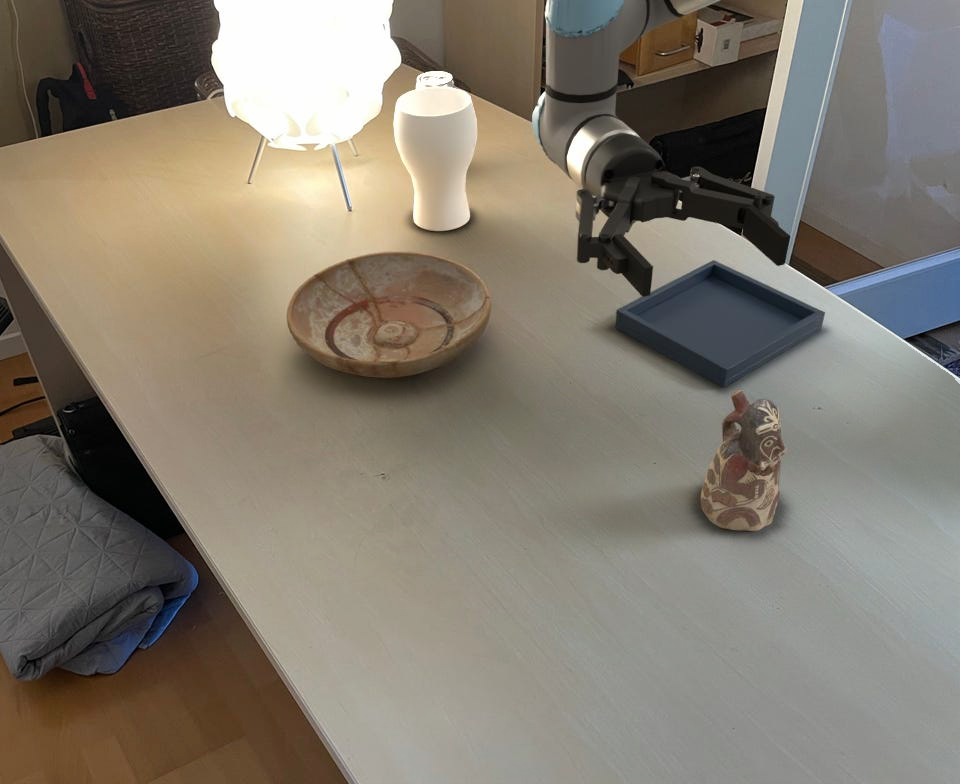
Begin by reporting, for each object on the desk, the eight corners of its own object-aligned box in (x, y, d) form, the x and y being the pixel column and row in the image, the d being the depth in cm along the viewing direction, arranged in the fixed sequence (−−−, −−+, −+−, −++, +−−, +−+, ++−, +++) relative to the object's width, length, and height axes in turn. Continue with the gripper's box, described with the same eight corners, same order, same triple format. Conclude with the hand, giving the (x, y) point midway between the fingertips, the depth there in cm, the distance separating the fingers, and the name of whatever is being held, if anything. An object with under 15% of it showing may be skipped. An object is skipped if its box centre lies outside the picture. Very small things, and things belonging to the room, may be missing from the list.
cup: (393, 233, 133) (380, 115, 122) (415, 197, 140) (405, 82, 129) (470, 239, 131) (464, 120, 120) (488, 203, 138) (484, 86, 127)
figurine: (738, 543, 91) (760, 436, 82) (684, 503, 95) (699, 397, 86) (792, 510, 94) (819, 404, 85) (737, 473, 98) (757, 367, 89)
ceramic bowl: (259, 384, 111) (250, 344, 107) (340, 279, 126) (334, 241, 122) (455, 413, 106) (453, 373, 102) (515, 300, 120) (515, 262, 117)
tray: (821, 330, 114) (825, 312, 112) (723, 388, 107) (726, 369, 105) (711, 277, 122) (713, 259, 121) (614, 327, 116) (616, 309, 114)
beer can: (460, 158, 148) (455, 70, 139) (457, 174, 144) (451, 85, 135) (424, 158, 148) (417, 71, 139) (420, 174, 145) (412, 85, 136)
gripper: (719, 184, 107) (829, 277, 94) (504, 229, 102) (586, 333, 89) (730, 111, 101) (848, 198, 88) (502, 155, 97) (590, 254, 83)
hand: (717, 266), depth 88 cm, fingers open, 13 cm apart
